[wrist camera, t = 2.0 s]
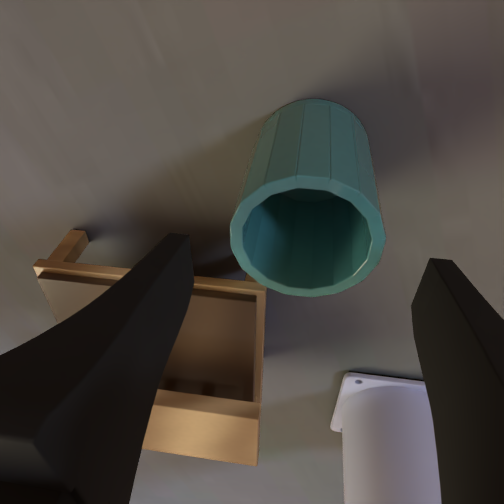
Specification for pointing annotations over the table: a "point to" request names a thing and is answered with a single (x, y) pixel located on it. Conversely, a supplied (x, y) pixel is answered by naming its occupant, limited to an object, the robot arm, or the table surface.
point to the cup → (309, 203)
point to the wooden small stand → (186, 356)
